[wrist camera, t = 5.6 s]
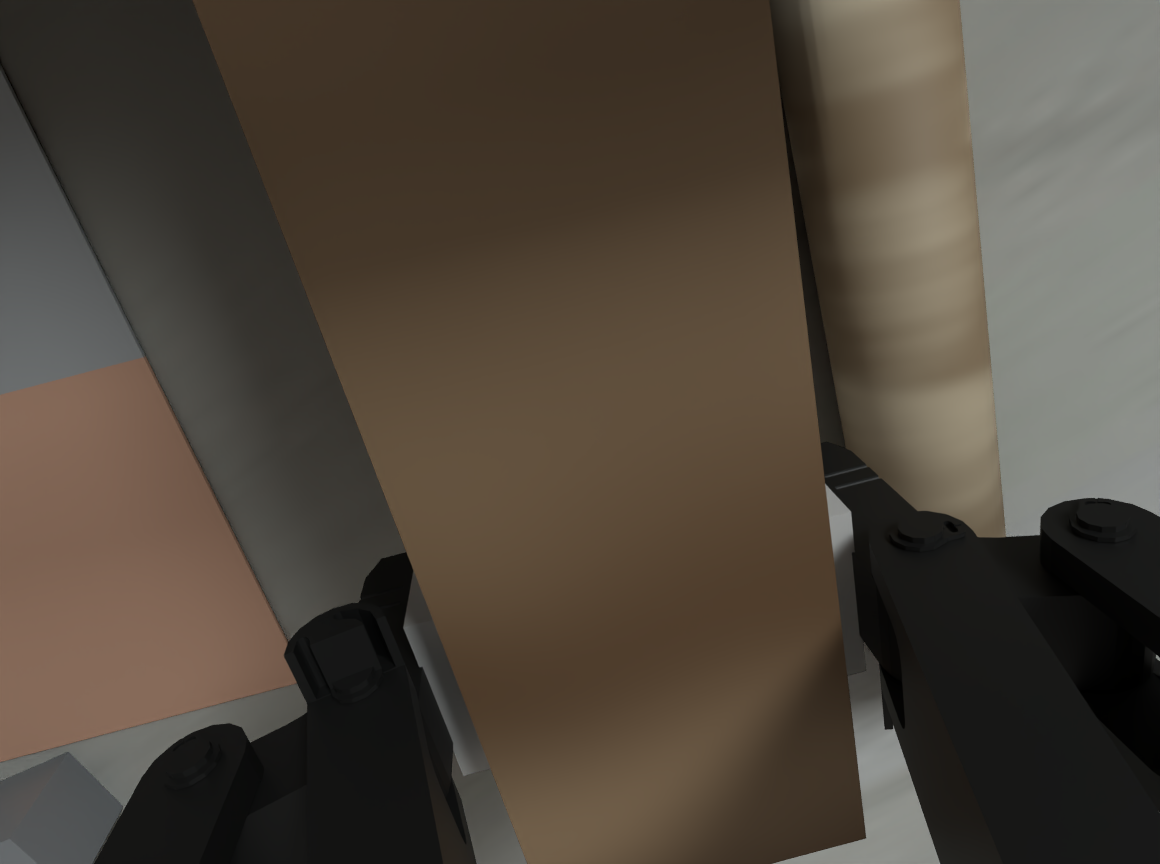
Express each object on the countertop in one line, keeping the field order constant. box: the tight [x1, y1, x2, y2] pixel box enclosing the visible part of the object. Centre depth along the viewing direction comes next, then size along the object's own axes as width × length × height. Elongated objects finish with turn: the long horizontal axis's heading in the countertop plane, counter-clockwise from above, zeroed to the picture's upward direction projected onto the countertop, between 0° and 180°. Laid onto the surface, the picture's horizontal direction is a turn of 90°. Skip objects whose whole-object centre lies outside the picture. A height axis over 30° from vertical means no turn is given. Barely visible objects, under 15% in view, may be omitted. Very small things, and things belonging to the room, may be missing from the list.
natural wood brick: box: [192, 0, 866, 864], centre depth 9 cm, size 24×12×8 cm, turn 13°
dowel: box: [769, 0, 1006, 538], centre depth 18 cm, size 20×4×4 cm, turn 17°
